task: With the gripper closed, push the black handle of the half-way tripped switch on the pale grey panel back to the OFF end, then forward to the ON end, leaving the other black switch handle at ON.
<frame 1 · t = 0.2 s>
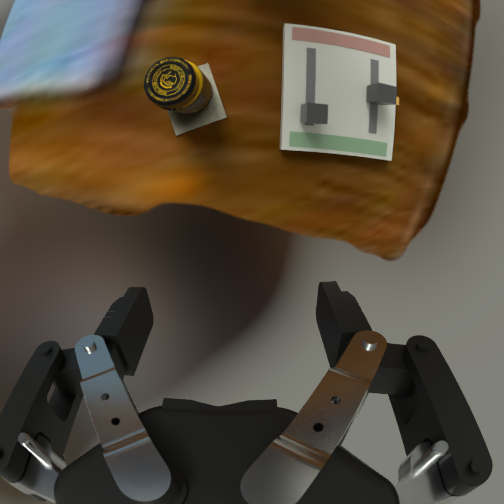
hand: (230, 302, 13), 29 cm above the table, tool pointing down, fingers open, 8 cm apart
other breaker: (313, 113, 31), point 4 cm above the table, slide at 8.0 cm
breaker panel: (339, 91, 33), on the table
condiment: (192, 98, 34), on the table
tripped breaker: (381, 94, 30), point 4 cm above the table, slide at 4.0 cm
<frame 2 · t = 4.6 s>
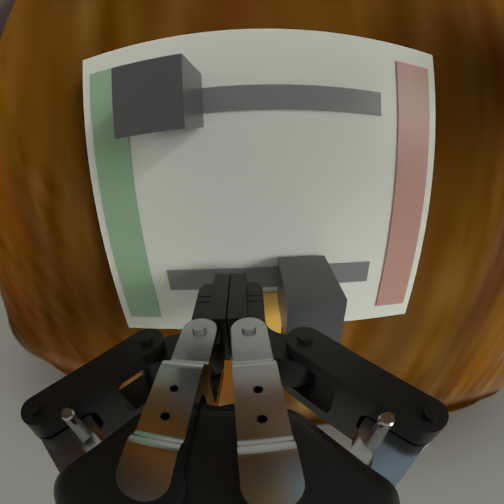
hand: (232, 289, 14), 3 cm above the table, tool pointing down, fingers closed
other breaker: (163, 100, 9), point 4 cm above the table, slide at 8.0 cm
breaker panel: (266, 183, 15), on the table
tripped breaker: (307, 299, 13), point 4 cm above the table, slide at 2.5 cm, touching gripper
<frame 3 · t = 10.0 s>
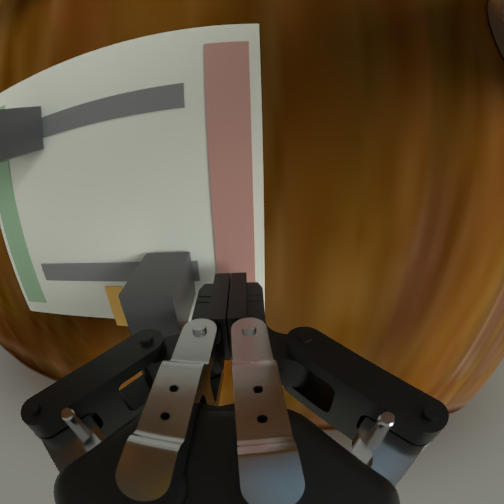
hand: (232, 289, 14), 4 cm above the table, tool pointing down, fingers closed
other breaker: (5, 137, 9), point 4 cm above the table, slide at 8.0 cm
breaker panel: (108, 188, 15), on the table
tripped breaker: (161, 294, 13), point 4 cm above the table, slide at 0.0 cm, touching gripper
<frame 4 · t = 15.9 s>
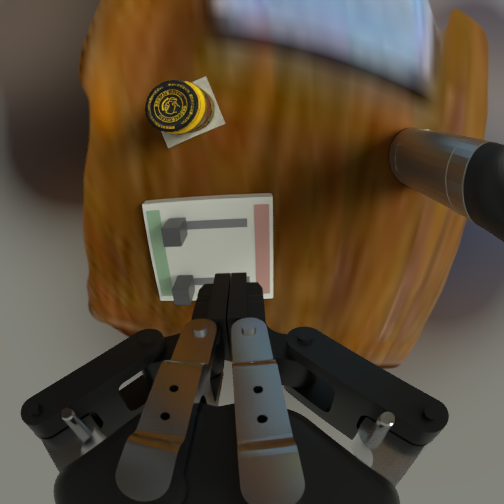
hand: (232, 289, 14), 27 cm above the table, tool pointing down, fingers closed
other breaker: (174, 231, 37), point 4 cm above the table, slide at 8.0 cm
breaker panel: (211, 248, 43), on the table
condiment: (186, 112, 34), on the table
tripped breaker: (183, 289, 41), point 4 cm above the table, slide at 8.0 cm
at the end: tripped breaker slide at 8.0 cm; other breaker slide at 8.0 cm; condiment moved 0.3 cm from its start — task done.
